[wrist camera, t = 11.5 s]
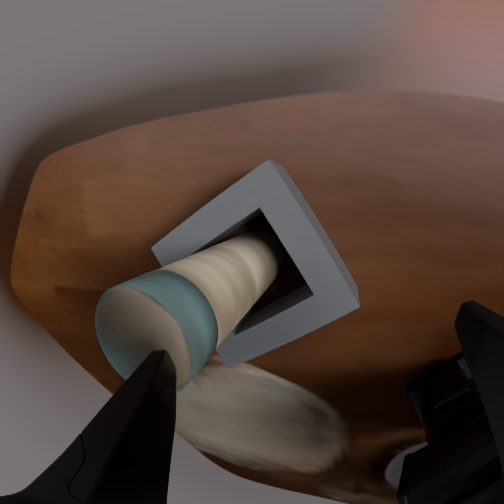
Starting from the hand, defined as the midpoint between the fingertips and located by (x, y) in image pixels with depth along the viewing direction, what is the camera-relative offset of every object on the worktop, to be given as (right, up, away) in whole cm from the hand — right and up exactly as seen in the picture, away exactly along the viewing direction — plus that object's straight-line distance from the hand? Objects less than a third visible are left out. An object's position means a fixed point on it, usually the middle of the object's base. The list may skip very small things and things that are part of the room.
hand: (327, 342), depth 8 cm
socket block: (-1, +2, +14) cm, 14 cm away
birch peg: (-2, +2, +14) cm, 15 cm away
